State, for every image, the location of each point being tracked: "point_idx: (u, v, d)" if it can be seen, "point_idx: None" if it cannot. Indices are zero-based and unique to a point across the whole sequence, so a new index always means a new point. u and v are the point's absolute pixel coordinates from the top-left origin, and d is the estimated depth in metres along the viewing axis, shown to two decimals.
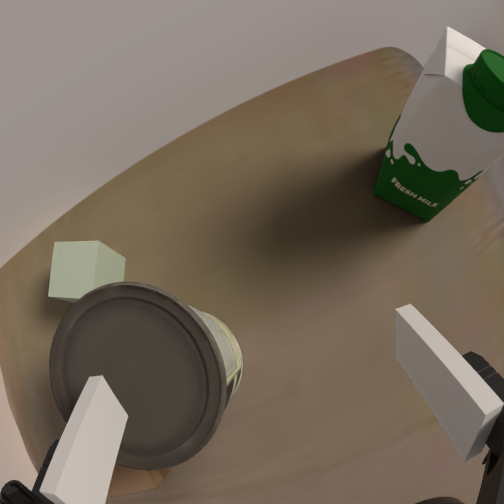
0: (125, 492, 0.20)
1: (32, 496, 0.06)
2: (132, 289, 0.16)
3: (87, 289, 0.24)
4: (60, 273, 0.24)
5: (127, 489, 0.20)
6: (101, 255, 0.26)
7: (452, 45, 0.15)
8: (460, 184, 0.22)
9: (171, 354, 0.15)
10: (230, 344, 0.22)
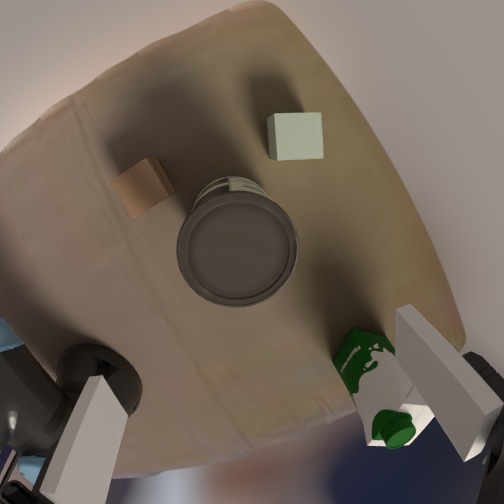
0: (119, 194, 0.33)
1: (32, 496, 0.06)
2: (294, 250, 0.27)
3: (284, 154, 0.32)
4: (294, 124, 0.31)
5: (123, 196, 0.33)
6: None
7: (425, 408, 0.31)
8: (351, 392, 0.40)
9: (258, 277, 0.28)
10: None
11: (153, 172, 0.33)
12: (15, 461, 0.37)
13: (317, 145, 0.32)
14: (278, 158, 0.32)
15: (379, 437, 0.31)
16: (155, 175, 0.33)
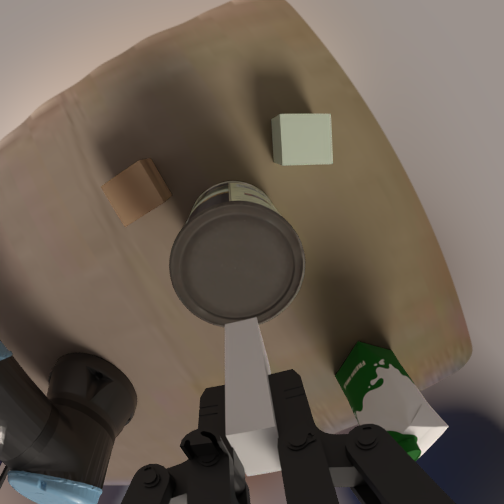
0: (110, 200, 0.30)
1: (224, 451, 0.08)
2: (300, 268, 0.24)
3: (290, 158, 0.29)
4: (302, 126, 0.28)
5: (114, 202, 0.30)
6: None
7: (431, 429, 0.28)
8: (354, 409, 0.37)
9: (259, 297, 0.25)
10: None
11: (147, 176, 0.30)
12: (8, 468, 0.34)
13: (326, 149, 0.29)
14: (283, 163, 0.30)
15: None
16: (149, 179, 0.30)
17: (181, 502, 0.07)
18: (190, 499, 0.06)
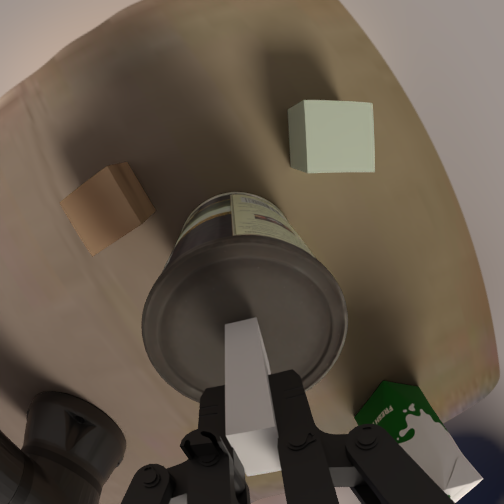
0: (72, 220, 0.22)
1: (224, 451, 0.08)
2: (339, 334, 0.15)
3: (318, 163, 0.21)
4: (334, 118, 0.20)
5: (77, 223, 0.22)
6: None
7: (466, 486, 0.19)
8: None
9: None
10: None
11: (118, 188, 0.21)
12: None
13: (367, 152, 0.21)
14: (309, 170, 0.21)
15: None
16: (121, 193, 0.21)
17: (181, 502, 0.07)
18: (190, 499, 0.06)
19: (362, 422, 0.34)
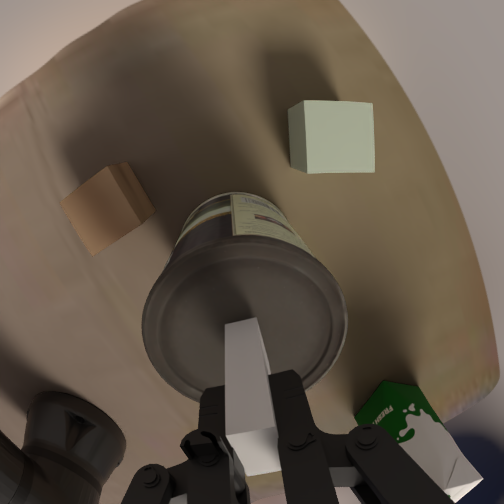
0: (72, 220, 0.22)
1: (224, 451, 0.08)
2: (339, 334, 0.15)
3: (318, 163, 0.21)
4: (334, 118, 0.20)
5: (77, 223, 0.22)
6: None
7: (466, 486, 0.19)
8: None
9: None
10: None
11: (118, 188, 0.21)
12: None
13: (366, 152, 0.21)
14: (309, 170, 0.21)
15: None
16: (121, 193, 0.21)
17: (182, 502, 0.07)
18: (190, 499, 0.06)
19: (362, 422, 0.34)
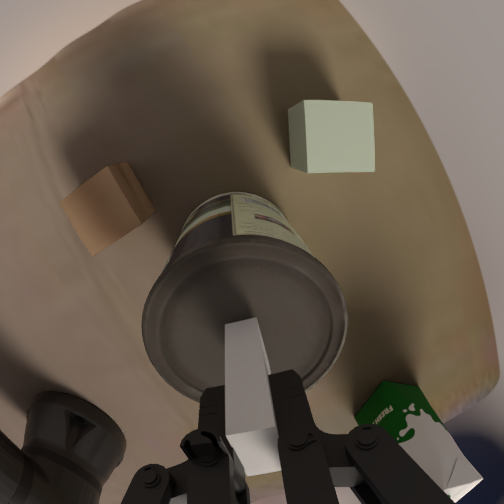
0: (72, 220, 0.22)
1: (224, 451, 0.08)
2: (339, 334, 0.15)
3: (318, 163, 0.21)
4: (334, 118, 0.20)
5: (77, 223, 0.22)
6: None
7: (466, 486, 0.19)
8: None
9: None
10: None
11: (118, 188, 0.21)
12: None
13: (367, 152, 0.21)
14: (309, 170, 0.21)
15: None
16: (121, 193, 0.21)
17: (181, 502, 0.07)
18: (190, 499, 0.06)
19: (362, 422, 0.34)
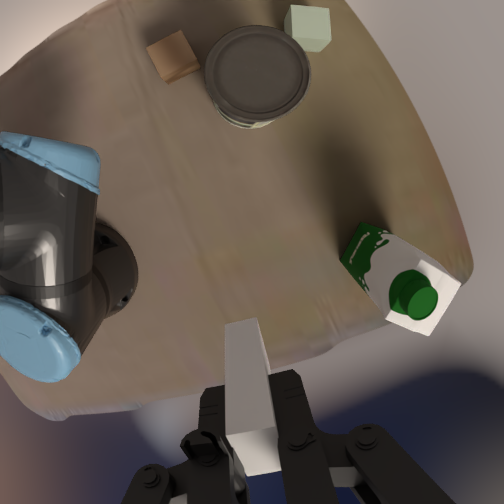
0: (152, 57, 0.33)
1: (224, 451, 0.08)
2: (307, 75, 0.27)
3: (298, 32, 0.32)
4: (307, 13, 0.31)
5: (155, 58, 0.33)
6: (321, 41, 0.34)
7: (444, 277, 0.31)
8: (361, 275, 0.40)
9: (274, 95, 0.28)
10: (270, 122, 0.36)
11: (185, 40, 0.33)
12: None
13: (326, 30, 0.32)
14: (293, 35, 0.32)
15: (398, 307, 0.31)
16: (187, 43, 0.33)
17: (181, 502, 0.07)
18: (190, 499, 0.06)
19: (346, 257, 0.46)
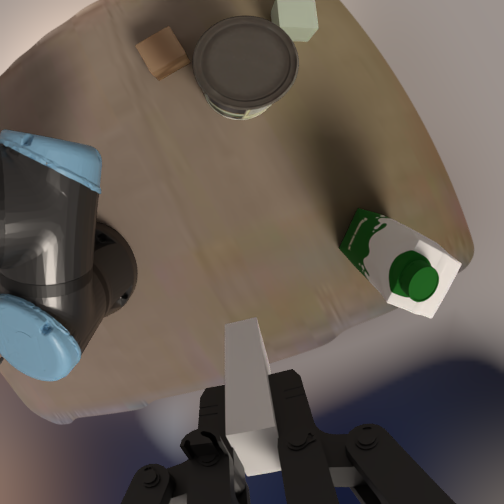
0: (142, 54, 0.33)
1: (224, 451, 0.08)
2: (294, 61, 0.27)
3: (285, 22, 0.32)
4: (293, 3, 0.31)
5: (145, 55, 0.33)
6: (308, 30, 0.33)
7: (444, 257, 0.30)
8: (361, 261, 0.40)
9: (263, 82, 0.28)
10: (261, 111, 0.36)
11: (174, 36, 0.33)
12: None
13: (312, 19, 0.32)
14: (280, 25, 0.32)
15: (398, 290, 0.31)
16: (175, 38, 0.33)
17: (181, 502, 0.07)
18: (190, 499, 0.06)
19: (345, 244, 0.46)
